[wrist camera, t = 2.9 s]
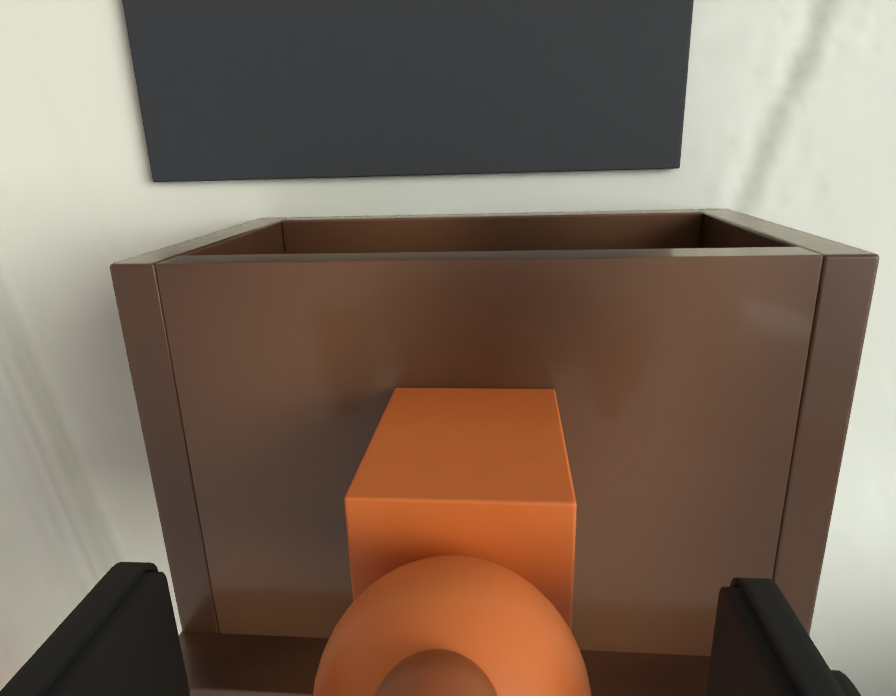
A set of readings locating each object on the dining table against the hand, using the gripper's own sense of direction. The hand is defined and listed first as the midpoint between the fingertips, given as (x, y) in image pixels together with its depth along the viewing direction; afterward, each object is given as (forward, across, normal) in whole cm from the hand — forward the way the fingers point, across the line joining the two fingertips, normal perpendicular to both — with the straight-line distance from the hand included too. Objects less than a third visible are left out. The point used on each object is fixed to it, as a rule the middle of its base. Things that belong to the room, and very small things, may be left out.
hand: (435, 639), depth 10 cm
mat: (+16, +2, -12) cm, 20 cm away
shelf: (+16, -1, +1) cm, 16 cm away
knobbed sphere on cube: (+6, 0, 0) cm, 6 cm away
